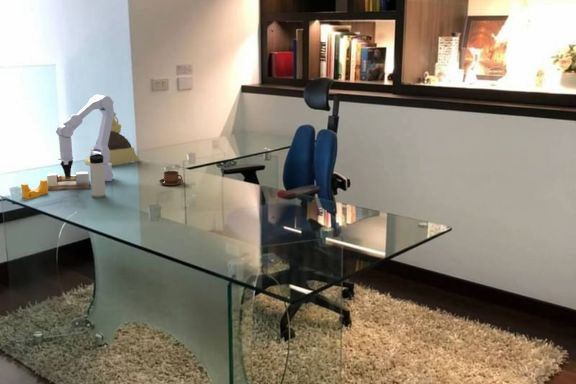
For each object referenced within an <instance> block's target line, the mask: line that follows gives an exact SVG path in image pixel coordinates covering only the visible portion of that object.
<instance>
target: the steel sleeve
mask: <svg viewBox="0 0 576 384" xmlns="http://www.w3.org/2000/svg"><path fill="white" fill-rule="evenodd" d="M75 175H76V185H89V186H90V175H89V171H76V172H75Z"/></svg>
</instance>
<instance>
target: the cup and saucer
mask: <svg viewBox="0 0 576 384" xmlns="http://www.w3.org/2000/svg"><path fill="white" fill-rule="evenodd" d="M179 177H180V178H179ZM164 181H165V183H163V182H164ZM183 182H184V179H183V176H182V175H180V174H179V171H176V170H166V171H164V172H163V178H161V179H160V180H159V183H160V184H161V185H163V184H164V186H179V185H181V184H182V183H183Z"/></svg>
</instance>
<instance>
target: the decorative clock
mask: <svg viewBox="0 0 576 384" xmlns="http://www.w3.org/2000/svg"><path fill="white" fill-rule="evenodd" d="M121 128H122V124H121V123H119V119H118V118H117V113H116V112H115V111H114V117H113V122H112V127H111V132H110V136H109V141H108V148H109V150H110V153H109V154H110V160H109V162H108V163H112V166H117V165H124V164H123V163H125V164H129V163H128V162H132V161H140V157H138V155H137V154H136V151H135V147H133V146H132V144H131V143H130V141H129V139H128V138H126V136H124V135H122V134H121V132H122V129H121ZM97 141H98V138H97V139H96V143H95V145H96V144H97ZM92 150H93V148H91V149H90V153H91V152H92ZM140 162H141V161H140ZM132 163H133V162H132ZM84 164H85V165H88V166H89V167H90V155H89V157H87V158H86V159H85V160H84Z"/></svg>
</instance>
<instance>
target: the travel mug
mask: <svg viewBox="0 0 576 384" xmlns="http://www.w3.org/2000/svg"><path fill="white" fill-rule="evenodd" d="M89 156H90V155H89ZM89 169H90V186H91V187H90V188H91V197H92V198H95V199H102V198H105V197H106V194H107V193H106V181H105V176H104V161H103V155H100V154H96V155H91V156H90V166H89Z"/></svg>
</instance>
